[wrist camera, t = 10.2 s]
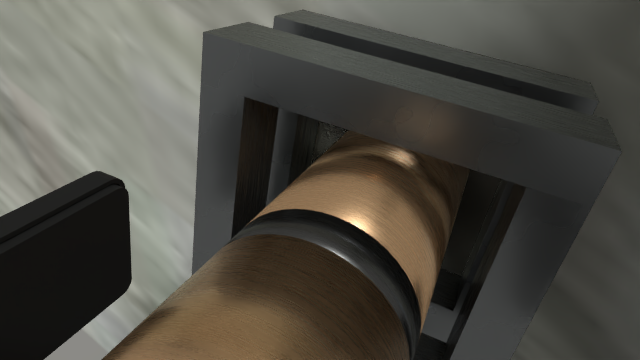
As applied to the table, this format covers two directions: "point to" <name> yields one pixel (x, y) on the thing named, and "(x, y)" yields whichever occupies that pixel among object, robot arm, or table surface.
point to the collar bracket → (414, 134)
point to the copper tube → (319, 266)
